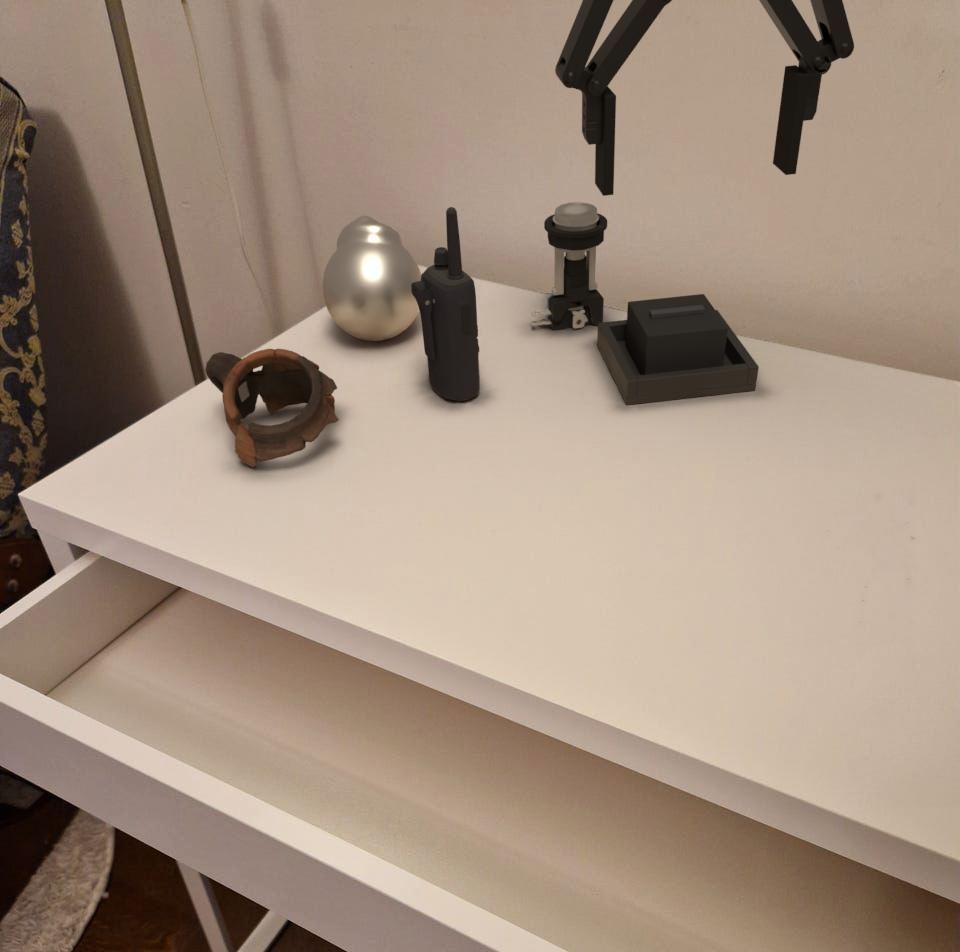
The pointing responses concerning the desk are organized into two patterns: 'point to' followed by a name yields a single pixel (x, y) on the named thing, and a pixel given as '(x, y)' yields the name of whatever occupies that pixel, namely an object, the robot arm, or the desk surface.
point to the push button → (574, 267)
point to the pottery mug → (272, 400)
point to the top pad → (675, 334)
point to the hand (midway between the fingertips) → (694, 179)
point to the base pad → (677, 384)
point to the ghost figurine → (371, 281)
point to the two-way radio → (449, 320)
